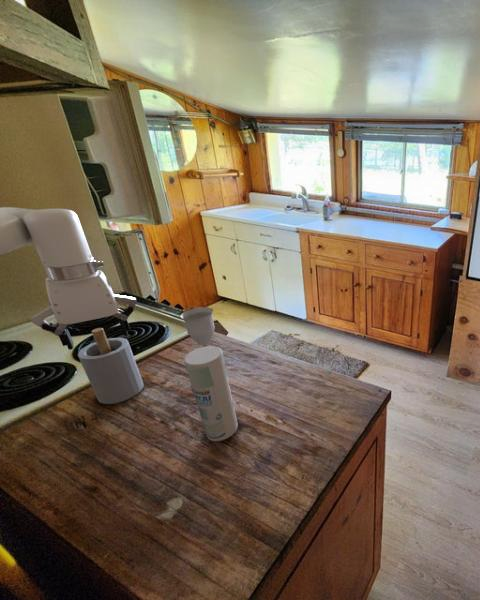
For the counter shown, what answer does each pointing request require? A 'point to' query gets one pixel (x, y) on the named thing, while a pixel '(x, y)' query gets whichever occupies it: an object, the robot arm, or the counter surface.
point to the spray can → (212, 391)
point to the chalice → (199, 324)
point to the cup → (112, 371)
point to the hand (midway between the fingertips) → (99, 340)
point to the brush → (101, 341)
